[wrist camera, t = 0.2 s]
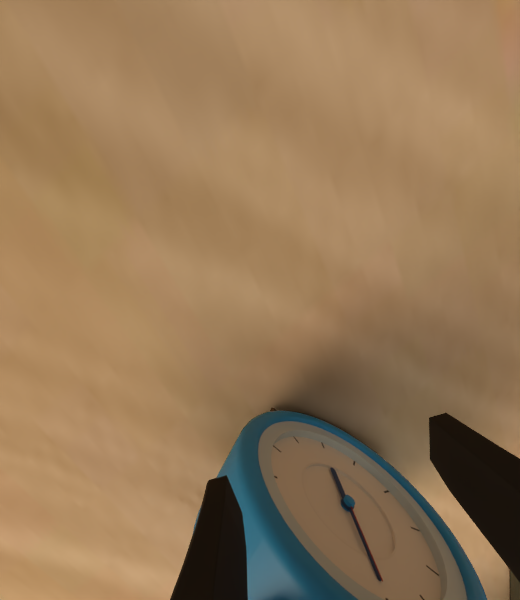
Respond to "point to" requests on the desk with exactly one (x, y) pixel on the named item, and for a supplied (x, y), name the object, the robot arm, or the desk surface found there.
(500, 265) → the desk surface
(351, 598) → the alarm clock
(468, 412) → the desk surface
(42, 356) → the desk surface
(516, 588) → the button base
